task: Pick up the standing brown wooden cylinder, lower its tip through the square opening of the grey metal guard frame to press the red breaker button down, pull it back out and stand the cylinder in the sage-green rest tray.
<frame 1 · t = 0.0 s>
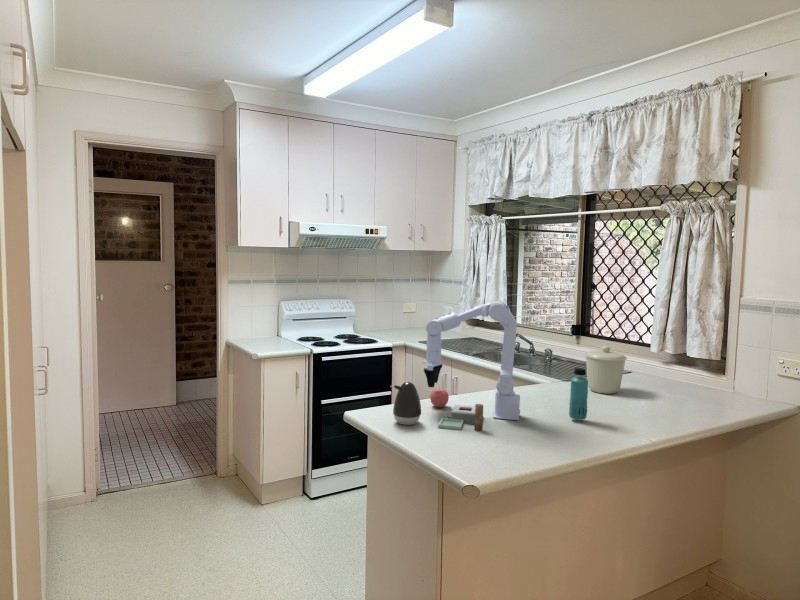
hand: (432, 384, 219), 10 cm above the countertop, tool pointing down, fingers open, 7 cm apart
rest tray: (451, 425, 202), on the countertop
beverage bottle: (577, 421, 211), on the countertop
apple: (439, 407, 225), on the countertop
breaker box: (465, 419, 209), on the countertop
canister: (603, 391, 256), on the countertop
pump dispenser: (406, 423, 203), on the countertop
brown wooden cylinder: (478, 430, 197), on the countertop
breaker button: (465, 413, 209), point 2 cm above the countertop, slide at 0.0 cm
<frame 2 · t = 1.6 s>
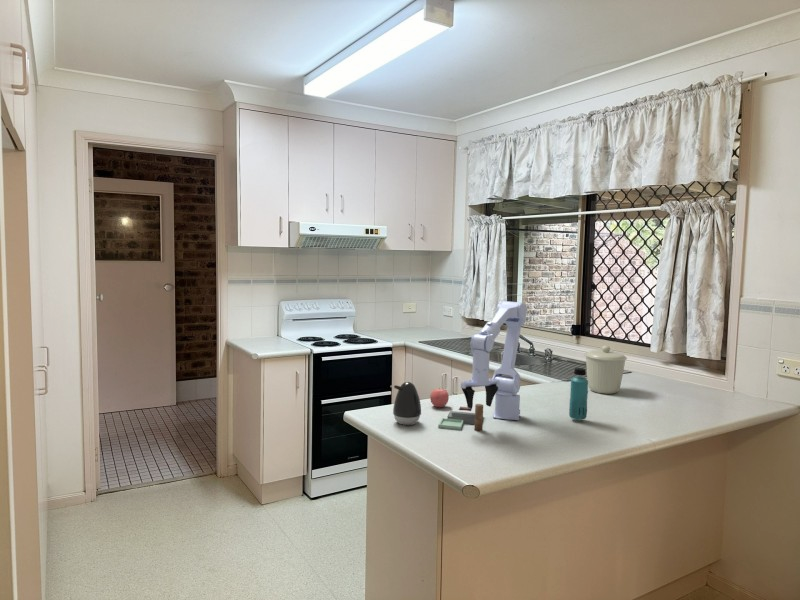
hand: (479, 406, 196), 8 cm above the countertop, tool pointing down, fingers open, 7 cm apart
nothing on the countertop moved.
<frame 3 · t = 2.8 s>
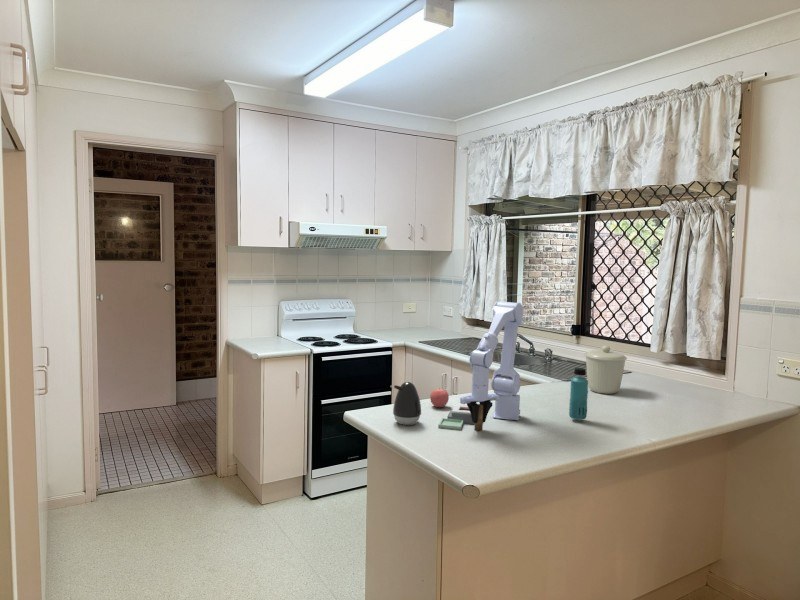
hand: (478, 421, 197), 3 cm above the countertop, tool pointing down, fingers closed on brown wooden cylinder, 3 cm apart
brown wooden cylinder: (478, 430, 197), on the countertop, touching gripper
everything else where it was.
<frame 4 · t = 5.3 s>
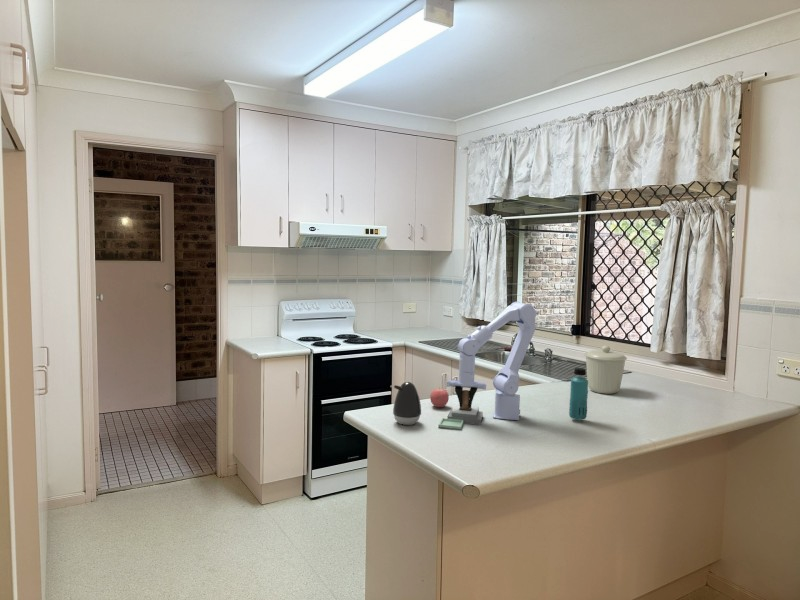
hand: (465, 406, 209), 5 cm above the countertop, tool pointing down, fingers closed on brown wooden cylinder, 3 cm apart
brown wooden cylinder: (465, 414, 209), point 2 cm above the countertop, touching breaker button, gripper
breaker button: (465, 416, 209), point 1 cm above the countertop, slide at 1.2 cm, touching brown wooden cylinder
everything else where it was.
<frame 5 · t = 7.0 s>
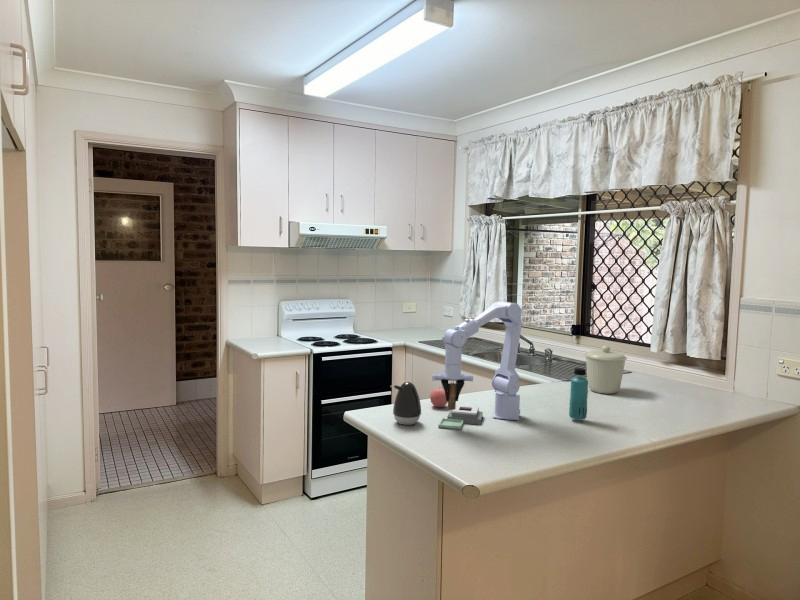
hand: (451, 400, 201), 9 cm above the countertop, tool pointing down, fingers closed on brown wooden cylinder, 3 cm apart
brown wooden cylinder: (451, 408, 201), point 6 cm above the countertop, touching gripper
breaker button: (465, 416, 209), point 1 cm above the countertop, slide at 1.2 cm
everything else where it was.
when the fingers open (4 cm above the countertop, at t = 8.0 s): brown wooden cylinder stays where it is, resting on rest tray.
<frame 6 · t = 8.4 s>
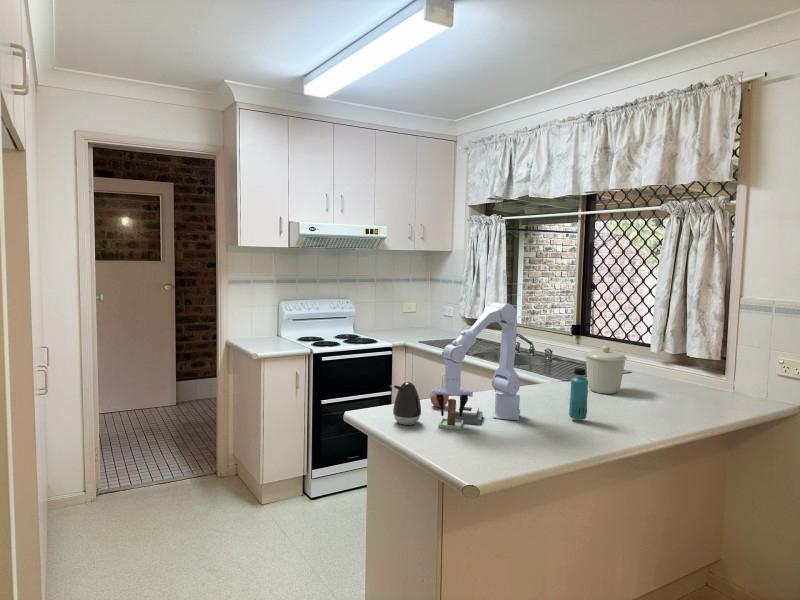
hand: (451, 415, 201), 4 cm above the countertop, tool pointing down, fingers open, 6 cm apart
brown wooden cylinder: (451, 424, 201), resting on rest tray
everything else where it was.
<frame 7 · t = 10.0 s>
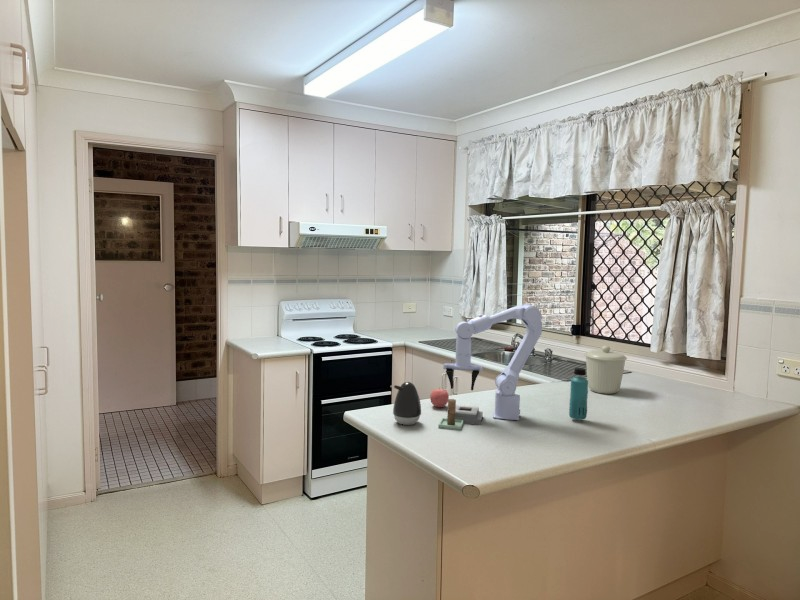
hand: (462, 388, 213), 10 cm above the countertop, tool pointing down, fingers open, 7 cm apart
nothing on the countertop moved.
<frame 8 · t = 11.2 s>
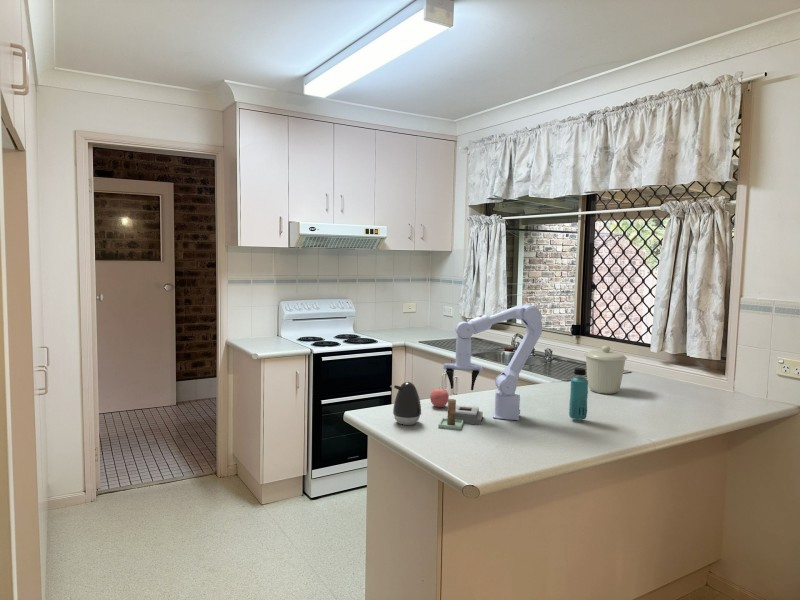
hand: (462, 388, 213), 10 cm above the countertop, tool pointing down, fingers open, 7 cm apart
nothing on the countertop moved.
at the end: breaker button slide at 1.2 cm; brown wooden cylinder 0.0 cm from the rest tray (horizontally); the gripper is holding nothing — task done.
